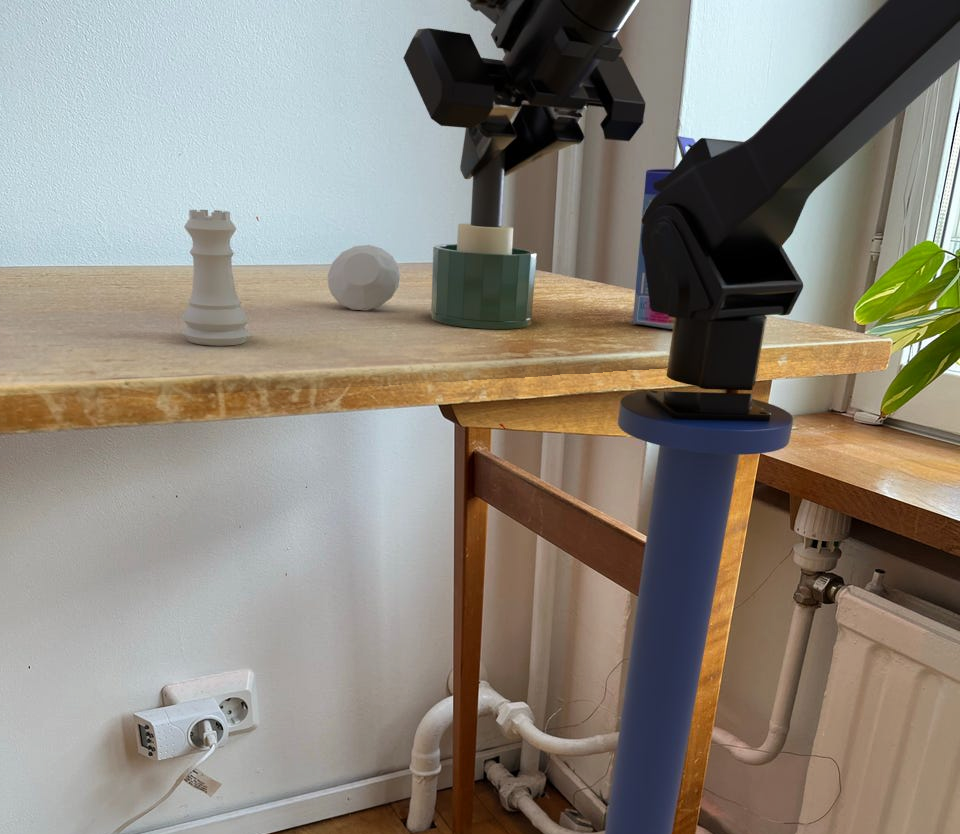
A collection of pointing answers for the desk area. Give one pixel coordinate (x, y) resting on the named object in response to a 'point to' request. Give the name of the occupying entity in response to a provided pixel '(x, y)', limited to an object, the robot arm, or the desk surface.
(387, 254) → the gemstone
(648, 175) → the ink cartridge box
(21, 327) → the desk surface
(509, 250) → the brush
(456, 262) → the green faceted pot
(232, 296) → the rook chess piece
